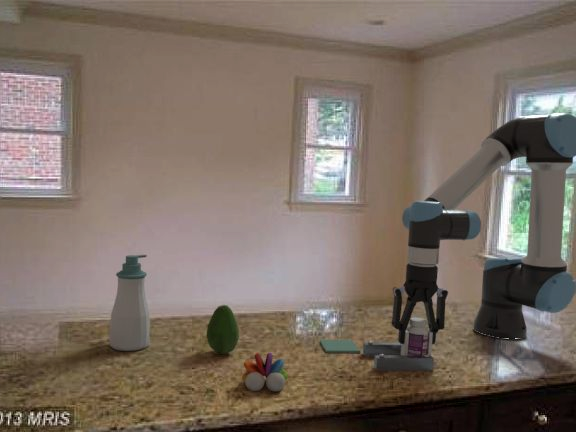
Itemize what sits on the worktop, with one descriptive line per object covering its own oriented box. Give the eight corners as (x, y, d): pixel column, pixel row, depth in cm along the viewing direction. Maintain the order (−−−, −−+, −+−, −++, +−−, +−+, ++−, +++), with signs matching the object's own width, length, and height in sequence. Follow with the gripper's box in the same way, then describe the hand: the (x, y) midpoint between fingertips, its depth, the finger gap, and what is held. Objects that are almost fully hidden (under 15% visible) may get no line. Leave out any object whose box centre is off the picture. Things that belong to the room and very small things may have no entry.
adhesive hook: (426, 341, 158) (426, 330, 158) (433, 340, 159) (434, 329, 159) (432, 344, 155) (433, 333, 155) (440, 343, 156) (441, 332, 156)
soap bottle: (157, 347, 140) (160, 257, 138) (122, 355, 133) (124, 260, 131) (136, 337, 147) (138, 252, 145) (101, 344, 140) (103, 254, 138)
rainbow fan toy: (241, 378, 122) (243, 346, 122) (285, 379, 123) (287, 347, 123) (241, 393, 114) (242, 359, 113) (288, 394, 115) (290, 360, 114)
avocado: (224, 345, 144) (226, 300, 143) (244, 354, 138) (246, 306, 137) (199, 351, 138) (200, 304, 137) (218, 360, 132) (220, 311, 131)
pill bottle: (427, 362, 135) (429, 323, 134) (404, 359, 136) (407, 321, 135) (426, 355, 140) (428, 317, 140) (404, 352, 141) (407, 315, 141)
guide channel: (415, 353, 145) (416, 340, 144) (433, 370, 133) (434, 356, 132) (362, 353, 143) (363, 340, 142) (376, 370, 131) (377, 356, 131)
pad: (352, 342, 152) (352, 340, 152) (360, 353, 143) (360, 350, 143) (319, 341, 151) (319, 339, 151) (326, 352, 142) (326, 350, 142)
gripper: (451, 262, 141) (444, 351, 143) (381, 260, 139) (375, 351, 141) (464, 267, 134) (457, 361, 136) (391, 265, 131) (384, 361, 133)
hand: (415, 356), depth 138 cm, fingers closed on pill bottle, 5 cm apart
